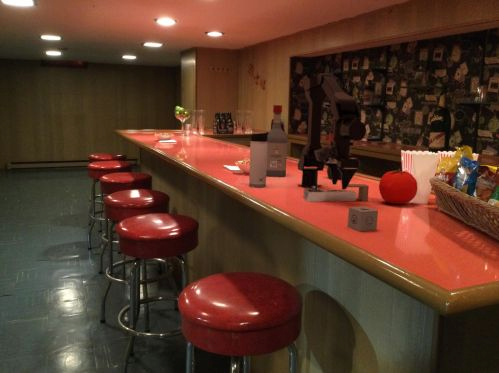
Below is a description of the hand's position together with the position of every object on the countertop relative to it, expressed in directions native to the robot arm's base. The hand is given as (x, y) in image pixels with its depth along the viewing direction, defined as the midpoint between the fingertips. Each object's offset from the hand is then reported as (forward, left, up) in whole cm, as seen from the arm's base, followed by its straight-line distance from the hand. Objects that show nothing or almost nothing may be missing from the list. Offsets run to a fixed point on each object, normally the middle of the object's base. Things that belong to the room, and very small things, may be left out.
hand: (338, 186), depth 149 cm
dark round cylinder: (+6, -6, -4) cm, 9 cm away
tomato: (-8, +16, -5) cm, 19 cm away
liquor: (-30, -45, -5) cm, 54 cm away
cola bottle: (-43, -22, -5) cm, 49 cm away
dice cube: (+29, +21, -5) cm, 36 cm away
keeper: (-4, +4, -4) cm, 7 cm away
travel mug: (-2, -34, -5) cm, 34 cm away
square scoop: (+2, -2, -4) cm, 5 cm away
